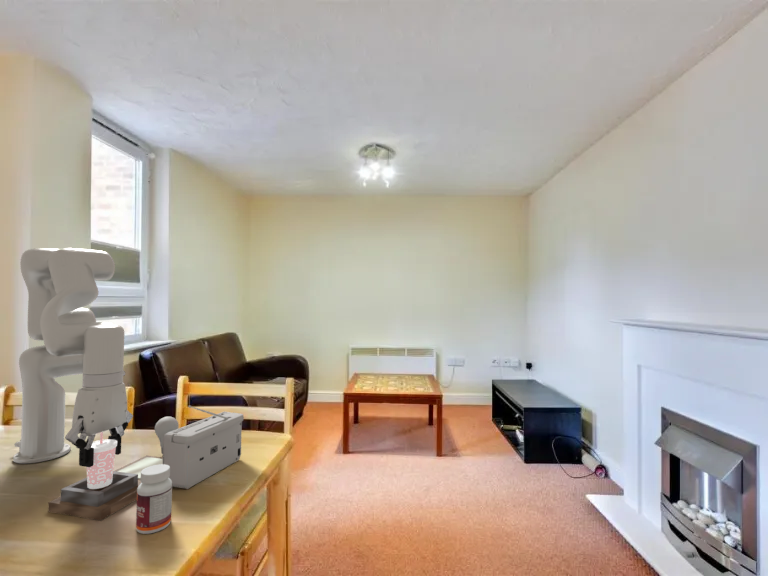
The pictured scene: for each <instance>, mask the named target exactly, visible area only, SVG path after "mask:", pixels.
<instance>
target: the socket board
mask: <svg viewBox="0 0 768 576" xmlns="http://www.w3.org/2000/svg"><path fill="white" fill-rule="evenodd" d="M159 464H163V456H155V455H154V456H153V455H145V456H143V457H140V458H139V459H137V460H135V461H134V460H133V461H132V462H130V463H128V464H126V465H124V466H121V467H119V468H118V469H115V470H113V479H112V483H111V484H110V485H108V486H106V487H103V488H99V489H89V488H88V487H87V477H85V478H82V479H80V480H78V481H76V482H74V483H72V484H69V485H68V486H64V487H63V488H61V489H60V496H59V497H57V498H54V499H52V500H50V501H48V505H47V512H48V513H53V514H60V515H66V516H71V517H78V518H84V519H89V520H96V521H103V520H105V519H106V518H108V517H110V516H111V515H113V514H114V513H116V512H118V511H120V510H122V509H123V508H125V507H127V506H129V505H130V504H132V503H133V502H136V501H137V488H138V486H139V485H140V484H141V483H142V482H141V481H140V478H141V471H142V470H143V469H145V468H147V467H149V466H153V465H159Z"/></svg>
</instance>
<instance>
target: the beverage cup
mask: <svg viewBox="0 0 768 576" xmlns="http://www.w3.org/2000/svg"><path fill="white" fill-rule="evenodd" d="M99 434H100V435H99V440H95V441H93V443H92V446H91V448H94V462H93V466H91V467H86V478H87V487H88V488H89V489H99V488H103V487H106V486H108V485H110V484H111V483H112V479H113V471H114V468H115V467H114V466H115V461H116V460H115V459H116V458H115V457H116V454H115V450H116V446H117V440H114V439H108V438H106V439H104V437H103V436H104V432H101V433H99Z"/></svg>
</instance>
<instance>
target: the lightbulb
mask: <svg viewBox="0 0 768 576" xmlns="http://www.w3.org/2000/svg"><path fill="white" fill-rule="evenodd" d="M176 429H179V422H178V420H177V419H176V417H172V416H164V417H162V418H159V420H158V421H157V422H156V423H155V425H154V433H155V434H156V437H157V438H158V440H159V446H160V452H161V453H160V454H161V455H163V440H164V435H165V434H166V433H168V432H171V431H173V430H176Z"/></svg>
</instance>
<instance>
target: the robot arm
mask: <svg viewBox="0 0 768 576" xmlns="http://www.w3.org/2000/svg"><path fill="white" fill-rule="evenodd" d="M115 265H116V264H115V261H114V259H113V257H112V256H111V254H110V253H109V252H107V251H103V250H97V249H87V248H77V247H76V248H72V247H64V248H51V247H50V248H47V247H36V248H30V249H27V250H25V251H24V252H23V253H22V255H21V258H20V272H21V276H22V279H23V281H24V283H25V286H26V288H27V292H28V293H27V294H28V301H27V302H28V303H27V333H28V336H29V337H30V339H32V340H34V341H37V342H38V341H39V342H40V341H41V342H43V343H44V345H37V346H32V347H29V348H26V349H25V350H23V351H22V353H21V354H20V355H19V359H18V365H19V372H20V378H21V388H22V389H21V390H22V393H21V394H22V395H21V396H22V399H21V402H22V403H21V429H20V430H21V435H20V437H21V438H20V440H19V441H16V442H15V443H14V447H16V448H19V449H18V450H19V451H18V452H16V453H15V454H14V455H13V456H12V460H13V462H14V463H16V464H36V463H42V462H45V461H50V460H54V459H58V458H59V457H63V456H65V455H66V454H68V453H69V452H70V451H71V448H72V447H71V445H70V444H68V443H65V440H67V441H68V442H69V443H71V444H72V445H73V446H75V448H76V449H79V451H78V466H80V467H85V468H87V467H91V466H93V462H94V448H91V446H92V443H93V442H94V440H95V437H96V435H99V434H100V433H101V432H103V433H104V432H106V431H108V432H109V433H110V435H108V438H107V439H114V440H117V446H116V450H115V456H116V455H117V456H118V455H121V454H122V437H123V436H125V430H126V429H127V427H128V426H129V424H130V422H131V421H132V419H133V417H134V415H133V413H131V412H130V411H129V410H128V396H127V389H126V384H125V382H124V377H125V375H126V371H125V370H124V361H125V358H124V357H125V354H124V353H125V328H123V327H122V326H121V325H117V324H115V323H114V322H109V321H97V320H96V319H97V318H96V315H95V313H94V311H92V310H91V309H90V308H88V307H87V306H88V305H91V304H92V303H93V302H95V300H96V299H97V298H98V296H99V287H98V286H97V282H96V281H98V282H101V281H102V282H105V281H106V282H107V281H110V280H111V279H112V278H113V276H114V275H115V272H116V266H115ZM86 307H87V308H86ZM76 375H82V386H81V388H78V391H77V394H76V397H75V400H74V405H73V413H72V422H71V428H70V430H69V431H68V432H67V434H65V427H66V426H65V424H66V423H65V421H66V420H65V419H66V390H65V388H64V387H63V386H62V385H61V384H60V383H59V382H58V381H56V378H60V377H68V376H76ZM79 434H80V435H79ZM78 435H79V436H78Z"/></svg>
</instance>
